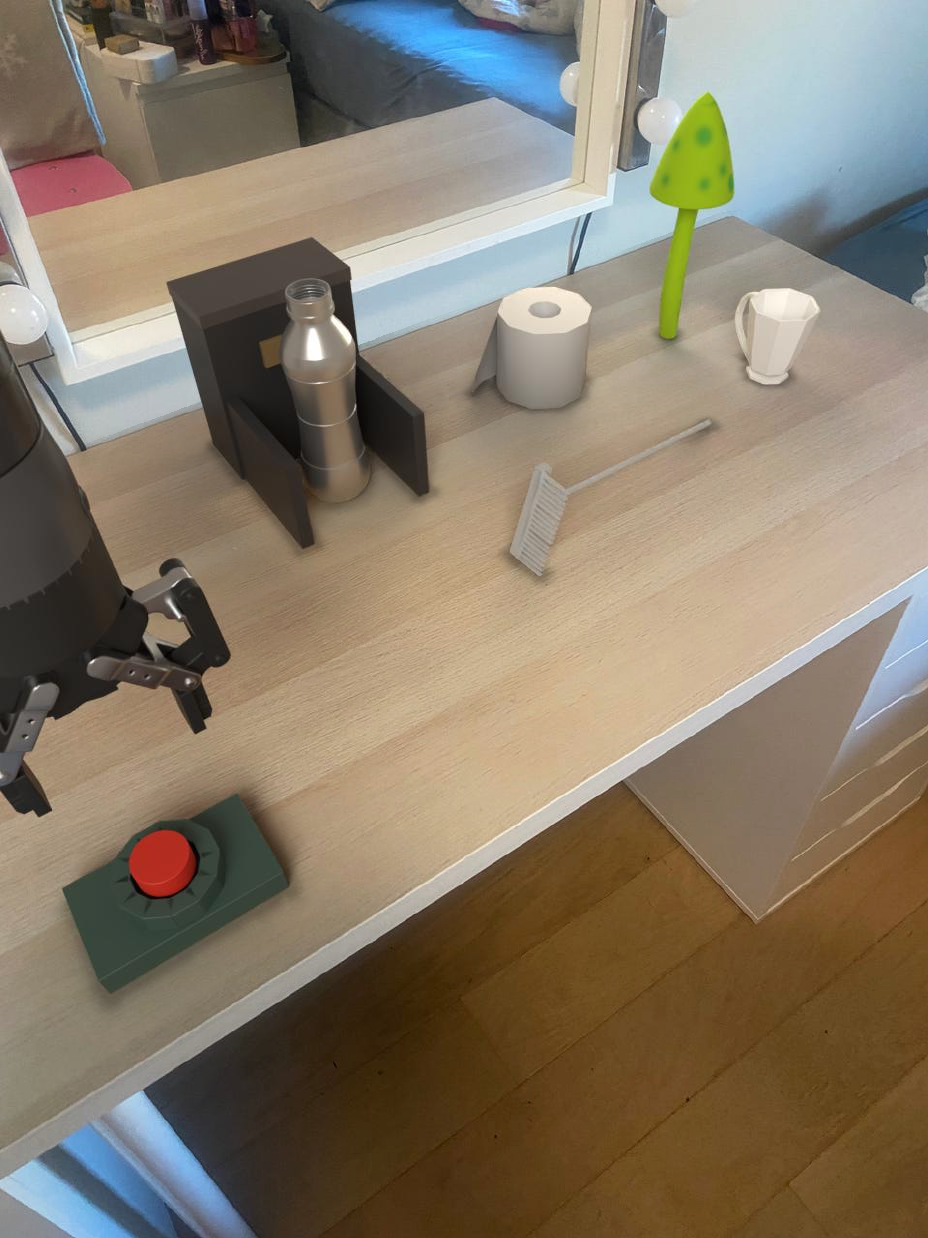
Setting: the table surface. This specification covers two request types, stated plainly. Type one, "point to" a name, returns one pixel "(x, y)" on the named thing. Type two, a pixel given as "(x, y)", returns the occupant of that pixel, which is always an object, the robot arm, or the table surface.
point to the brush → (541, 501)
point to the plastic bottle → (323, 393)
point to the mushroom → (691, 192)
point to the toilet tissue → (538, 347)
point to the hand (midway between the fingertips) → (119, 760)
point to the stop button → (162, 863)
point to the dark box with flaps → (281, 376)
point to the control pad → (164, 926)
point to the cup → (775, 331)
